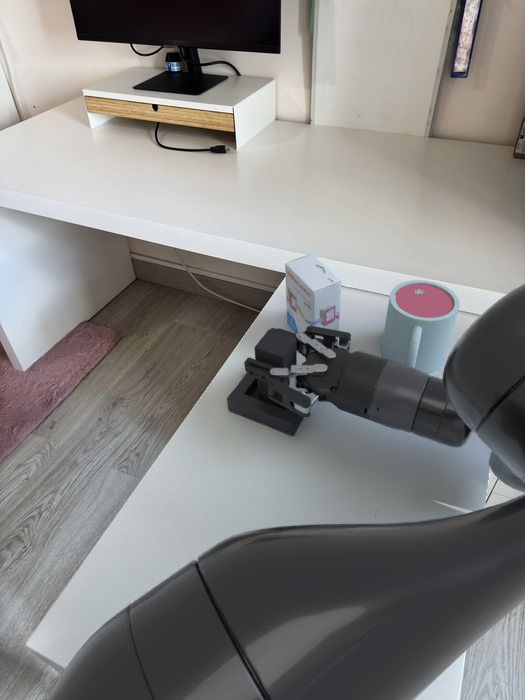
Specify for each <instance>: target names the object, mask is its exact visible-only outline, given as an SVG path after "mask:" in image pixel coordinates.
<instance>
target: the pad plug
mask: <svg viewBox="0 0 525 700" xmlns="http://www.w3.org/2000/svg"><path fill="white" fill-rule="evenodd" d="M254 359H255V360H258V361H261V362H264V363H267V364H270V365H273V368H289V367H290V366H291V365H298V351H297V338H296V337H293V336H290V335H287V334H284V333H281V332H278V331H275V330H271V328H269V329H267V331H266V332H265V333H264V335H263V336H262V337H261V338H260V339H259V341H258V342H257V343H256V344H255V346H254ZM280 379H289V378H285V377H280ZM296 380H297V376H296ZM257 387H258V400H261V401H263V402H266V403H268V404H271V405H274V406H276V407H279V408H282V409H285V408H286V407H284V406H282V405H280V404H278V403H277V402H275V401H273V400H271V399H269V397H268V383H267V382H264V381H261V380H259V379H257Z"/></svg>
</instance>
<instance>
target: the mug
mask: <svg viewBox="0 0 525 700" xmlns="http://www.w3.org/2000/svg"><path fill="white" fill-rule="evenodd" d="M459 308H460V299H459V297H458V296H457V294H456V293H455V292H454V291H453V290H451V288H449V287H447V286H446V285H443V284H442V283H439V282H436V281H431V280H425V279H415V280H407V281H404V282H403V281H402V282H401V283H399V284H397V285H396V286H394V287H393V288H392V289H391V291H390V293H389V297H388V303H387V311H386V316H385V317H386V318H385V323H384V330H383V336H382V342H381V348H380V349H381V350H380V351H381V355H382V358H385V359H388V360H391V361H394V362H397V363H400V364H404V365H407V366H410V367H413V368H415V369H417V370H419V371H421V372H424V373H426V374H431V373H433V372H435V371H437V370H438V369H440V368H441V367H442V366H443V364H444V362H445V358H446V356H447V352H448V348H449V345H450V342H451V338H452V334H453V331H454V327H455V324H456V323H455V322H456V319H457V317H458V312H459Z"/></svg>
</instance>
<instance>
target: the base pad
mask: <svg viewBox="0 0 525 700" xmlns="http://www.w3.org/2000/svg"><path fill="white" fill-rule="evenodd" d="M297 381H299V382H300V375H298V376H297ZM305 393H306V394H309V393H308V392H305ZM226 403H227V408H228V412H231V413H233V414H236V415H238V416H240V417H243V418H245V419H249V420H251V421H254V422H255V423H258V424H261V425H262V426H265V427H268V428H271V429H273V430H275V431H278V432H280V433H283V434H286V435H288V436H291V437H294V436H295V435H296V433H297V431H298V430H299V428H300V427H301V425H302V423H303V421H304V420H305V419H306V418H305V417H302V416H300V415H298V414H297V413H295V412H293V411H291V410H289V409H288V408H285V409H282V408H279V407H276V406H274V405H271V404H268V403H266V402H263V401H261V400H258V387H257V379H256V378H253V377H250V376H249V375H248V374H247V372H246V373H245V374H244V375H243V376H242V378H241V379H240V380H239V382H238V383H237V384H236V386H235V387H234V388H233V390H232V391H231V392H230V393H229V395H228V396H227V397H226Z"/></svg>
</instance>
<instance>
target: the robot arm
mask: <svg viewBox="0 0 525 700" xmlns="http://www.w3.org/2000/svg"><path fill="white" fill-rule="evenodd" d="M270 329H271V330H275V331H278V332H281V333H284V334H287V335H290V336H293V337H296V338H297V353H299V354H300V355H302V356H303V358H304V359H305V361H303V362H302V363H301V364H297V365H291V366H290V367H289V368H273V365H270V364H267V363H264V362H261V361H258V360H255V358H252V357H247V358H246V359H245V360H244V361H243V365H244V371H245V372H246V373H247V374H248V375H249V376H250V377H253V378H256V379H259V380H261V381H264V382H267V383H268V397H269V399H271V400H273V401H275V402H277V403H278V404H280V405H282V406H284V407H286V408H288V409H289V410H291V411H293V412H295V413H297V414H298V415H300V416H302V417H305V418H304V419H307V418H309V417H311V415H312V409H313V408H314V406H315V405H316V404H317V403H325V402H326V403H330V404H332V405H333V406H335V407H336V408H337V410H340V411H343V412H346V413H348V414H350V415H354V416H357V417H359V418H362V419H364V420H367V421H370V422H373V423H375V424H377V425H381V426H384V427H386V428H387V427H388V428H389V429H393V430H398V431H403V432H405V433H406V432H407V433H408V434H409V433H410V434H412V435H416V436H418V437H421V438H423V439H426V440H428V441H432V442H435V443H438V444H441V445H443V446H446V447H449V448H454V449H459V448H462V447H463V446H465V445H466V444H467V442H468V441H469V440H470V439H471V437H472V435H473V433H475V434H476V436H477V437H478V438H479V440H481V442H482V443H484V444H485V445H486V446H487V448H489V450H491V452H490V455H489V458H488V466H489V469H490V471H491V472H492V474H493V475H494V476H495V477H496V479H498V480H499V481H500V482H502V483H503V484H504V485H505V486H507V487H509V488H511V489H513V490H516V491H519V492H521V493H524V494H521V495H519V496H516V497H514V498H512V499H509V500H506V501H504V502H501V503H498V504H494V505H491V506H487V507H483V508H480V509H477V510H473V511H470V512H467V513H461V514H456V515H450V516H444V517H437V518H429V519H424V520H414V521H402V522H401V521H400V522H386V523H385V522H384V523H383V522H382V523H321V524H319V523H317V524H314V523H313V524H310V523H309V524H296V525H295V524H294V525H280V526H279V525H278V526H271V527H262V528H256V529H251V530H247V531H244V532H241V533H237V534H233V535H231V536H229V537H227V538H224V539H223V540H221V541H219V542H217V543H215V544H214V545H213V546H211V547H209V548H208V549H207V550H205V551H203V552H202V553H201V554H198V556H197V558H196V559H191V561H189V562H188V563H186V564H185V565H183V566H182V567H181V568H179V569H178V570H176V571H174V573H172V574H171V575H169V576H168V577H166V578H165V579H163V580H162V581H160V582H159V583H158V584H156V585H155V586H153V587H152V588H151V589H149V590H147V591H146V592H145V593H144V594H142V595H141V596H139V597H138V598H136V599H134V601H133V602H130V603H128V604H127V605H126V606H125V607H124V608H122V609H121V610H119V611H118V612H117V613H116V614H114V615H112V617H110V618H109V619H108V620H107V621H106V622H105V623H103V624H102V625H101V626H100V627H99V628H98V629H97V630H96V631H94V633H93V634H91V635H90V636H89V638H88V639H87V640H86V641H85V642H84V644H83V645H82V646H81V647H80V649H78V650H77V652H76V653H75V654H74V656H73V657H72V659H71V660H70V661H69V662H68V664H67V665H66V666H65V668H64V670H62V672H61V674H60V676H59V677H58V679H57V680H56V682H55V683H54V684H53V686H52V687H51V689H50V691H49V692H48V694H47V696H46V697H45V699H44V700H416V699H417V698H418V697H419V696H421V694H422V693H423V692H424V691H425V690H426V689H428V688H429V687H430V686H431V685H432V684H433V683H434V682H435V681H436V680H437V679H438V678H440V676H441V675H442V674H443V673H445V672H446V671H447V670H448V669H449V668H450V667H451V666H452V665H453V664H454V663H455V662H456V661H457V660H458V659H459V658H460V657H462V655H463V654H464V653H466V651H468V650H469V649H470V648H471V647H472V646H473V645H474V644H475V643H477V642H478V641H479V640H480V639H481V638H482V637H483V636H484V635H485V634H487V633H488V632H489V631H490V630H491V629H493V627H495V626H496V625H497V624H499V623H500V622H501V621H502V620H503V619H505V618H506V617H507V616H508V615H509V614H510V613H512V612H513V611H514V610H515V609H516V608H518V607H519V606H520V605H522V604H523V603H524V602H525V283H524V284H523V283H522V285H519V286H518V287H516V288H515V289H513V290H511V291H509V292H508V293H506V294H504V296H502V297H501V298H499V299H498V300H497V301H495V302H494V303H493V304H492V305H491V306H490V307H488V308H487V309H486V310H485V311H483V312H482V314H480V315H479V316H478V317H477V318H476V319H475V320H474V321H473V323H471V324H470V325H469V327H468V328H467V329H466V330H465V331H464V332H463V333H462V335H461V336H460V337H459V339H458V340H457V342H456V343H455V344H454V345H453V348H452V349H451V350H450V352H449V355H448V357H447V359H446V361H445V364H444V367H443V371H442V378H441V377H439V376H435V375H431V374H430V373H424V372H421V371H419V370H417V369H415V368H413V367H410V366H407V365H404V364H400V363H397V362H394V361H391V360H388V359H385V358H384V357H380V356H378V355H374V354H371V353H368V352H365V351H362V350H354V351H353V352H350V350H351V341H352V334H351V333H350V332H348V331H342V330H339V331H337V330H332V329H326V328H321V327H316V326H308V327H307V328H306V331H304V332H303V333H302V332H299V333H296V332H292V331H289V330H286V329H283V328H281V327H280V328H277V327H276V328H275V327H271V328H270ZM315 335H317V336H322V337H323V338H324V339H320V338H315ZM298 375H300V382H299V381H297V380H296V376H298ZM280 377H285V378H289V379H280ZM305 392H308V393H309V394H306V393H305Z"/></svg>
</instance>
